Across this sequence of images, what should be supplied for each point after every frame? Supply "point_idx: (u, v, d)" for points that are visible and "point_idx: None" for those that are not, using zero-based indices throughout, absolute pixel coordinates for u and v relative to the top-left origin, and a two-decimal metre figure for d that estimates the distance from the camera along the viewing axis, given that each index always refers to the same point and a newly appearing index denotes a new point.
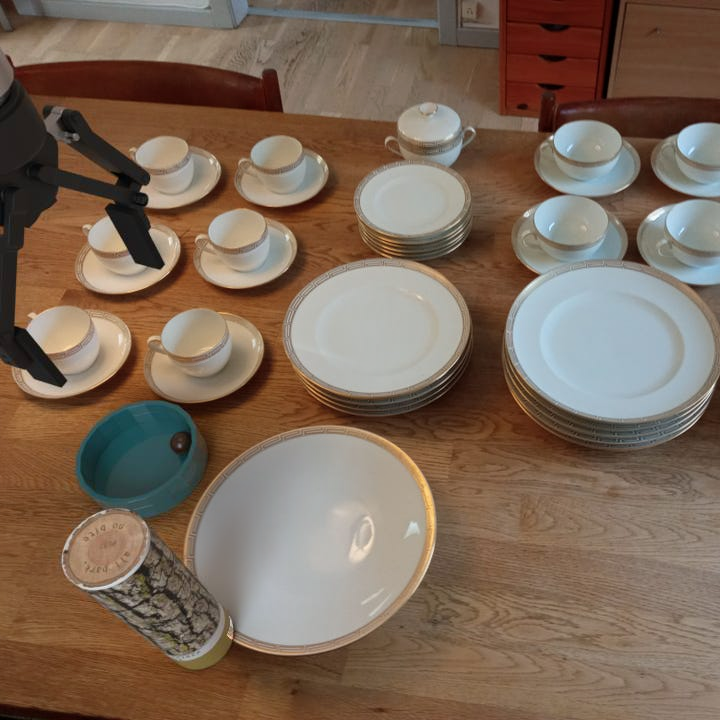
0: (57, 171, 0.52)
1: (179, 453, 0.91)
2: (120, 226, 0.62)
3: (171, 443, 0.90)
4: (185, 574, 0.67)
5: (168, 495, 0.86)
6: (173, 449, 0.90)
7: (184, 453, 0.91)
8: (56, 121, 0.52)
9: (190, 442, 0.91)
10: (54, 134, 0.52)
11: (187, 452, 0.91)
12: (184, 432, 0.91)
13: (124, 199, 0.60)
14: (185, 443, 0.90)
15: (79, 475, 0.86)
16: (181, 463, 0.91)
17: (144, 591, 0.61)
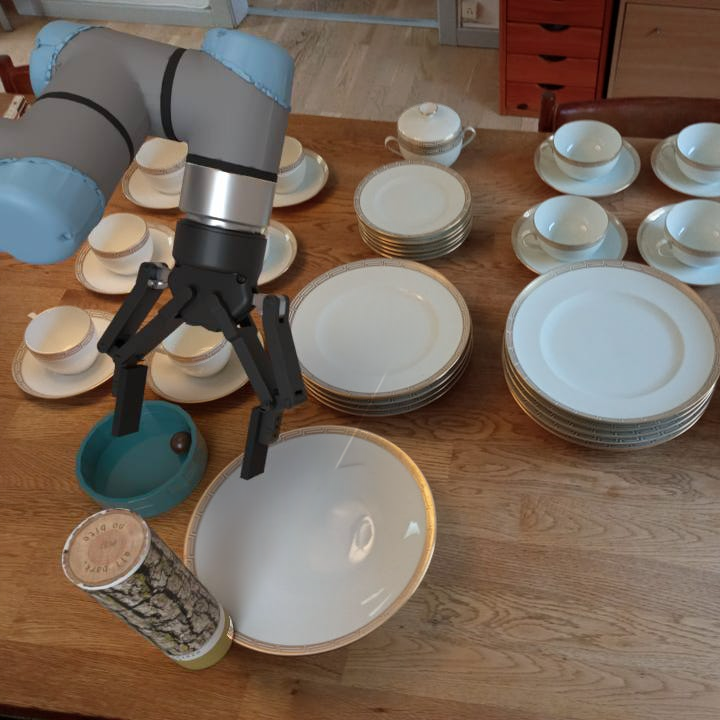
0: None
1: (179, 453, 0.91)
2: (130, 387, 0.67)
3: (171, 443, 0.90)
4: (185, 574, 0.67)
5: (168, 495, 0.86)
6: (173, 449, 0.90)
7: (184, 453, 0.91)
8: (167, 268, 0.66)
9: (190, 442, 0.91)
10: None
11: (187, 452, 0.91)
12: (184, 432, 0.91)
13: None
14: (185, 443, 0.90)
15: (79, 475, 0.86)
16: (181, 463, 0.91)
17: (144, 590, 0.61)
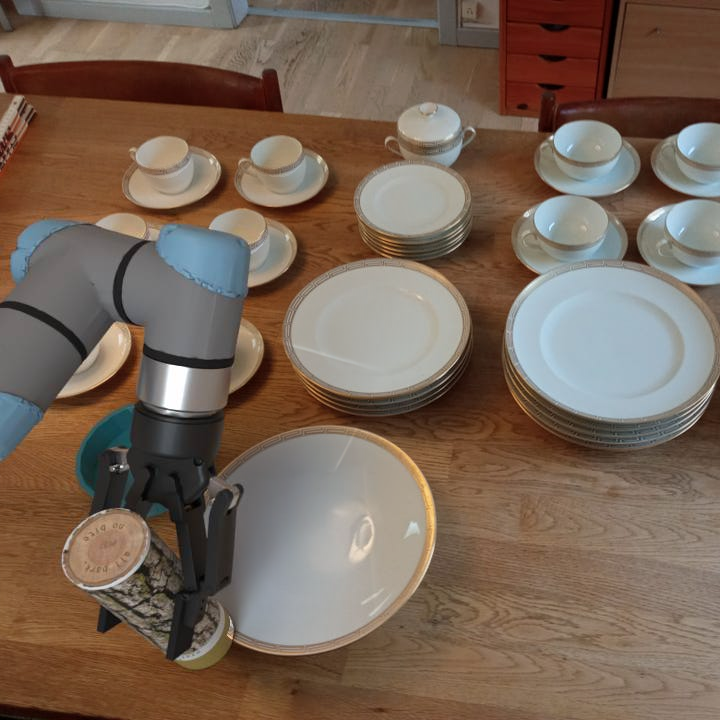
0: None
1: None
2: None
3: None
4: None
5: None
6: None
7: None
8: (125, 449, 0.67)
9: None
10: None
11: None
12: None
13: None
14: None
15: (79, 475, 0.86)
16: None
17: (144, 590, 0.61)
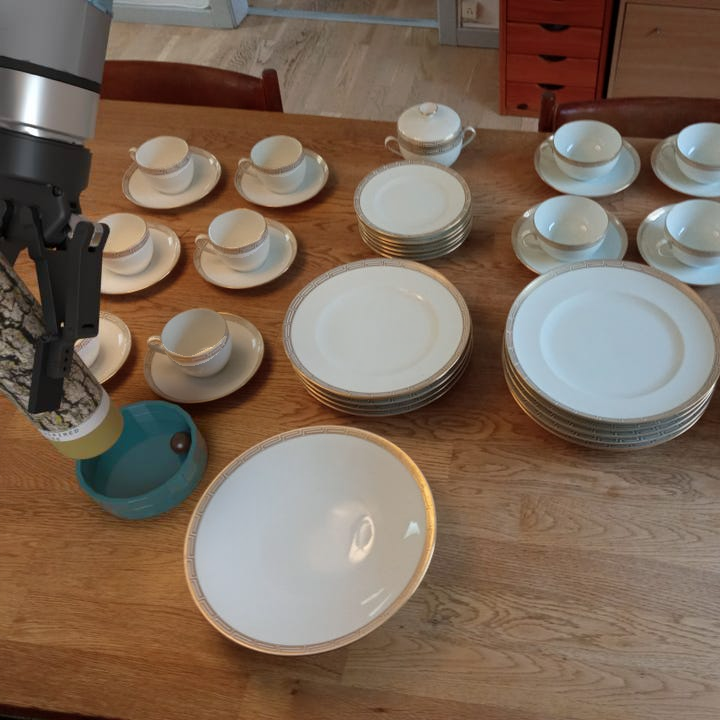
0: None
1: (179, 453, 0.91)
2: None
3: (171, 443, 0.90)
4: None
5: (168, 495, 0.86)
6: (173, 449, 0.90)
7: (184, 453, 0.91)
8: None
9: (190, 442, 0.91)
10: None
11: (187, 452, 0.91)
12: (184, 432, 0.91)
13: None
14: (185, 443, 0.90)
15: (79, 475, 0.86)
16: (181, 463, 0.91)
17: None
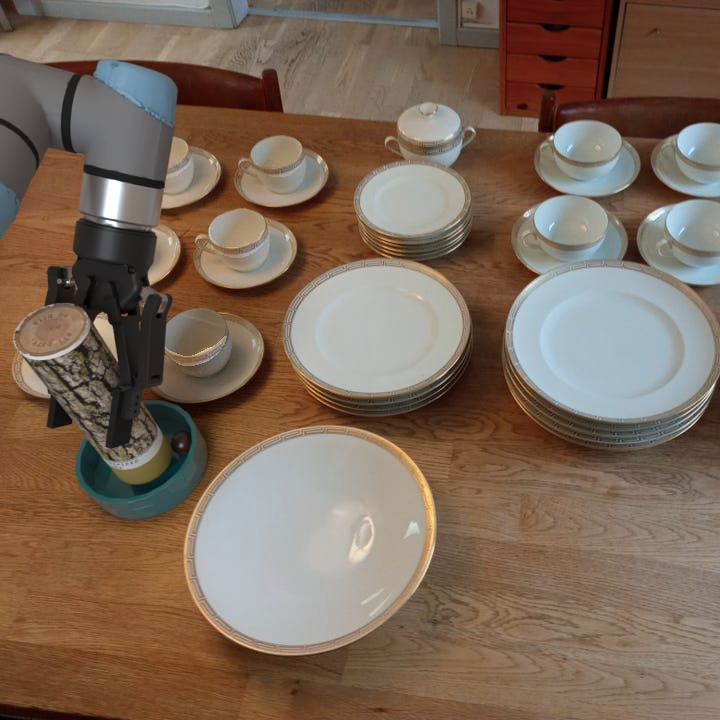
0: None
1: (180, 452, 0.91)
2: None
3: (173, 442, 0.90)
4: None
5: (168, 495, 0.86)
6: (174, 448, 0.90)
7: (185, 453, 0.91)
8: None
9: None
10: None
11: (187, 452, 0.91)
12: (186, 432, 0.91)
13: None
14: (187, 443, 0.90)
15: (79, 475, 0.86)
16: (181, 463, 0.91)
17: (83, 372, 0.71)
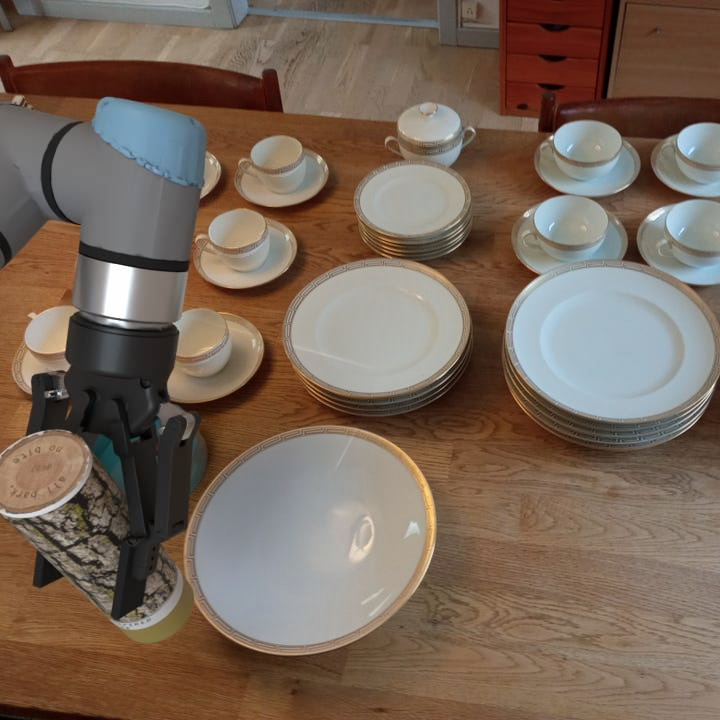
0: None
1: None
2: None
3: None
4: None
5: None
6: None
7: None
8: (64, 373, 0.57)
9: (156, 446, 0.90)
10: None
11: None
12: None
13: None
14: None
15: None
16: None
17: (81, 527, 0.52)
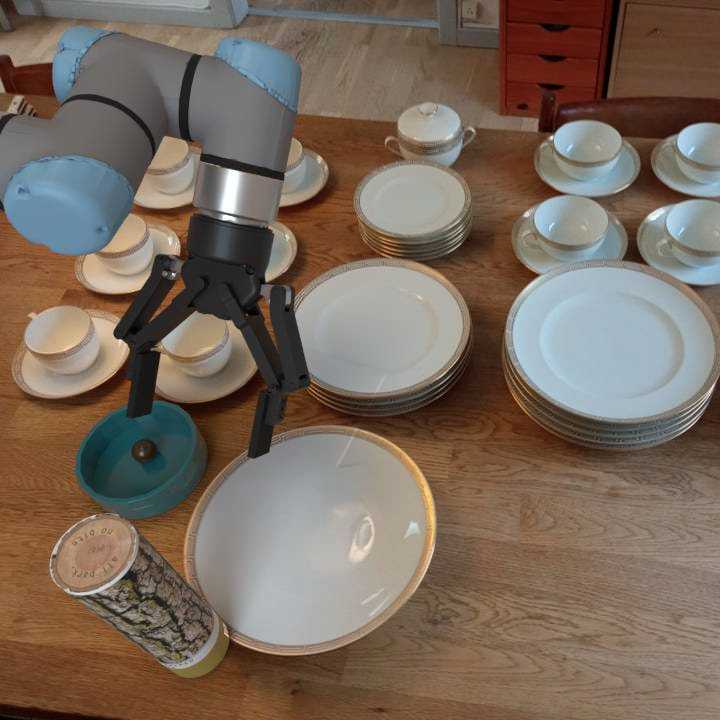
0: None
1: (148, 460, 0.90)
2: (144, 372, 0.71)
3: None
4: (176, 581, 0.66)
5: (168, 495, 0.86)
6: (154, 458, 0.91)
7: (143, 461, 0.90)
8: (180, 260, 0.70)
9: (136, 460, 0.91)
10: None
11: (140, 461, 0.90)
12: None
13: None
14: None
15: (79, 475, 0.86)
16: (181, 463, 0.91)
17: (132, 597, 0.60)
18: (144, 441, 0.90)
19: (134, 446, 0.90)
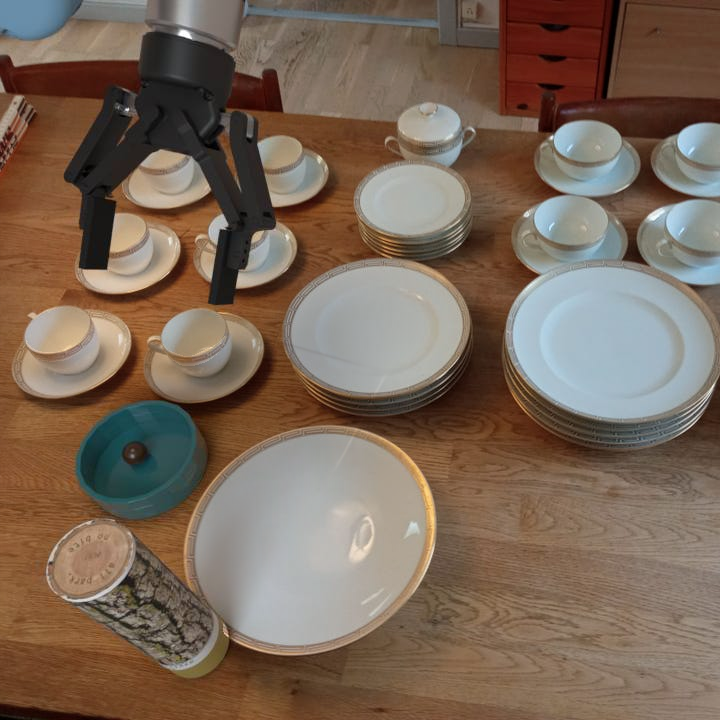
0: None
1: (137, 461, 0.90)
2: (98, 218, 0.66)
3: (147, 453, 0.91)
4: (174, 584, 0.66)
5: (168, 495, 0.86)
6: (144, 457, 0.90)
7: (133, 463, 0.90)
8: None
9: None
10: None
11: (132, 464, 0.90)
12: None
13: None
14: None
15: (79, 475, 0.86)
16: (181, 463, 0.91)
17: (130, 602, 0.60)
18: (126, 445, 0.90)
19: (122, 453, 0.90)
